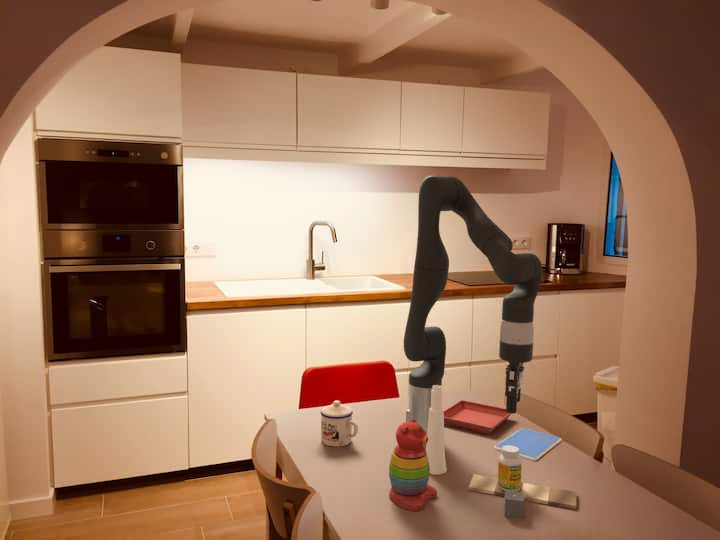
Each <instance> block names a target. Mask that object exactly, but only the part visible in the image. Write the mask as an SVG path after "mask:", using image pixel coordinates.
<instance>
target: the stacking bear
mask: <svg viewBox="0 0 720 540" xmlns="http://www.w3.org/2000/svg"><path fill="white" fill-rule="evenodd" d="M395 431H396V432H395V438H396V443H397V445H396V446H395V447H394V449H393V450H392V453H391V456H390V460H389V466H388V476H389V480H390V486H391V487H390V490H389V492H388V496H389V498H390V500H391V501H392V502H393V503H395V504H396V505H397V506H399V507H401V508H402V509H403V508H404V509H406V510H409V511H413V512H419V511H422V510H424V509H425V508H426V507H425V504H426V502H427V501H428V500H429V501H430V500H432V499H435V498H436V497H437V496H438V492H437V490H436V488H435V487H434V486H432V485H430V484H428V483H429V480H430V475H431V474H430V467H429V462H428V457H427V453H426V448H424V446H425V445H426V444H427V442H428V435H427V433H426V432H425V431H424V429H423V428H422V427H421V425H419V424H418V423H415V420H414V419H412V420H411V421H410V422H406V421H405V422H403V423H401V424H400V425H399V426H398V427H397V429H396V430H395Z"/></svg>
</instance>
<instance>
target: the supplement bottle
mask: <svg viewBox="0 0 720 540" xmlns="http://www.w3.org/2000/svg"><path fill="white" fill-rule="evenodd" d="M500 452H501V454H500V455H499V456H498V461H497V462H498V463H497V465H498V466H497V478H498V487H499V488H500V489H501V490H504V491H514V492H516V491H518V490H520V487H521V482H522V464H523V461H522V457H519V449H518V448H517V447H515V446H510V445H507V446H503V447H502V451H500Z"/></svg>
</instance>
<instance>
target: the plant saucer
mask: <svg viewBox="0 0 720 540" xmlns="http://www.w3.org/2000/svg"><path fill="white" fill-rule="evenodd" d="M511 415H512V413H507V412H506V408H502V407H498V406H495V405H488V404H483V403H479V402H473V401H469V400H463V399H462V400H460V401H458V402H456V403H455V404H453V405H451V406H450V407H448V408H447V409H444V425H448V424H449V425H450V426H453V425H454V426H453V427H457V426H458V428H461V427H462V428H461V429H465V428H466V430H469V429H470V430H471V431H474V432H477V433H478V432H479V433H482V434H487V435H488V434H491V433H492V432H493V431H494V430H495V429H496V428H498V427H499V426H500V425H501V424H503V423H504V422H505V421H506V420H508V418H509V417H510V416H511Z"/></svg>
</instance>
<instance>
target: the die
mask: <svg viewBox="0 0 720 540" xmlns="http://www.w3.org/2000/svg"><path fill="white" fill-rule="evenodd" d="M503 497H504V502H503V509H504V510H503V511H504V512H503V515H504V517H507V518H508V517H509V518H516V519H524V515H525V514H524V513H525V500H524V495H523V492H514V491H505V496H503Z"/></svg>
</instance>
